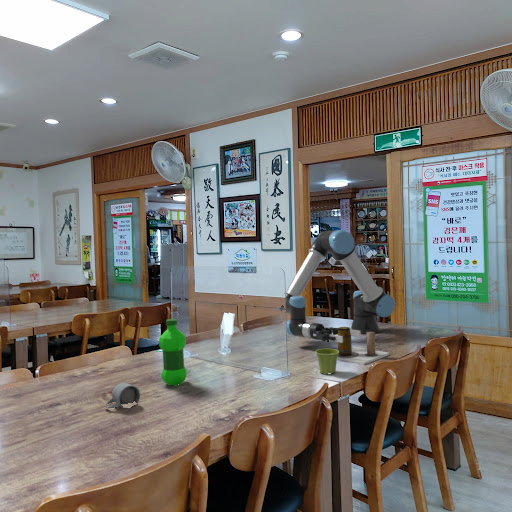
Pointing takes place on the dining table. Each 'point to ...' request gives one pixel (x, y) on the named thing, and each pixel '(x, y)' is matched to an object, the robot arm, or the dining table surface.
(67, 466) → the dining table surface
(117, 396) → the ceramic mug
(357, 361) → the board
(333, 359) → the plant pot
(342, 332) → the condiment
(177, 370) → the plastic bottle
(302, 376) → the dining table surface
